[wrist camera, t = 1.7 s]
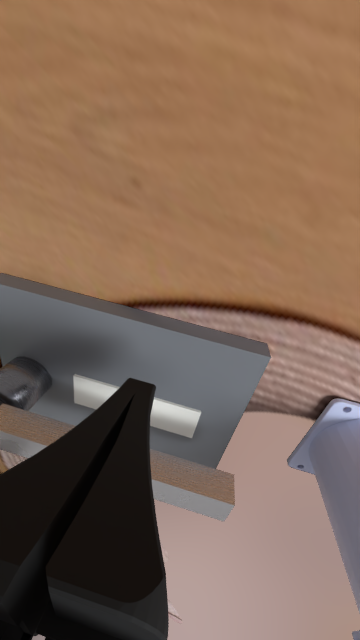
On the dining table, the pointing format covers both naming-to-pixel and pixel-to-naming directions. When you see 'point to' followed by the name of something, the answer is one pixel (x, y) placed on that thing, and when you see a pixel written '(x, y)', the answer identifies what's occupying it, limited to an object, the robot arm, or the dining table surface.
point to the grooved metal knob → (23, 382)
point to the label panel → (132, 364)
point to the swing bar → (166, 470)
